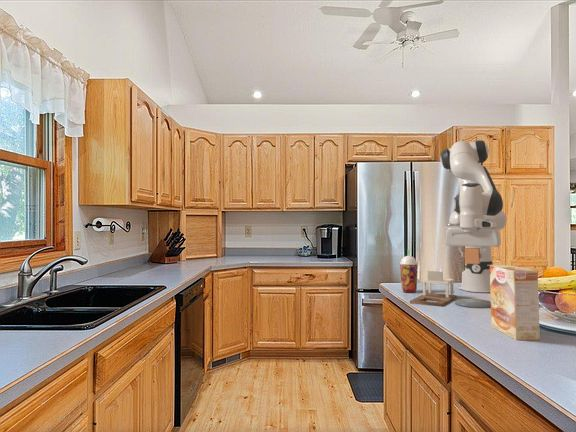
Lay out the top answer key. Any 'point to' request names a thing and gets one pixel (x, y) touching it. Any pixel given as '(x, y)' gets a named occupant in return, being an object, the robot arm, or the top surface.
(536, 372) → the top surface
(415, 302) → the puzzle board
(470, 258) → the block
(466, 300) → the saucer
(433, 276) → the cover
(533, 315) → the coffeecake box
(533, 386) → the top surface
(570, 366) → the top surface
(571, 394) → the top surface
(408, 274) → the smoothie
